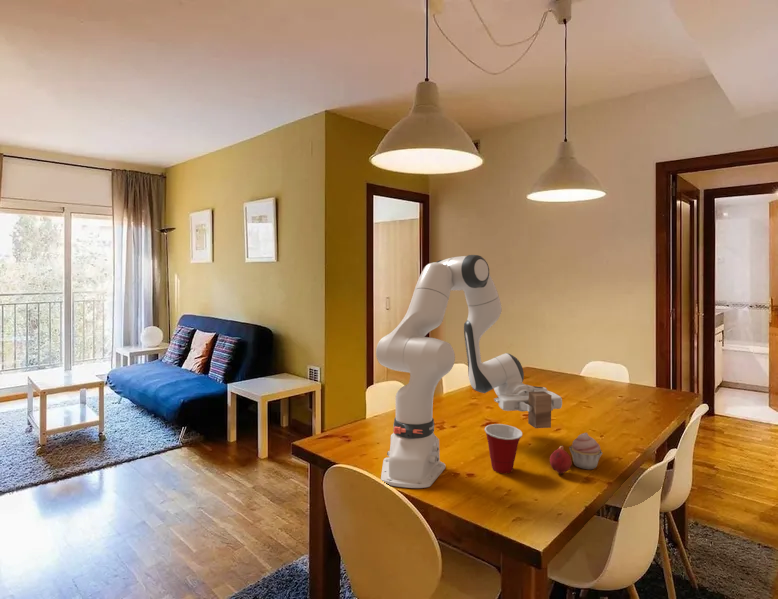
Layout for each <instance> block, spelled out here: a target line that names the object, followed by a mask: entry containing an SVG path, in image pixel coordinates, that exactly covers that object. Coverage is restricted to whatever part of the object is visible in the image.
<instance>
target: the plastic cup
mask: <svg viewBox="0 0 778 599" xmlns="http://www.w3.org/2000/svg"><path fill="white" fill-rule="evenodd" d="M484 432H485V433H486V439H487V445H488V451H489V452H488V453H489V458H490V463H491V469H492V470H493V472H495V471H496V472H495V473H498V472H499V473H498V474H510V473H512V472H513V469H514V464H515V461H516V456H517V451H518V446H519V442H520V440H521V438H522V437H523V432H522V430H521V429H519V428H517V427H516V426H512V425H508V424H503V423H494V424H488V425H486V426H485V427H484Z"/></svg>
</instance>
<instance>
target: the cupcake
mask: <svg viewBox="0 0 778 599" xmlns="http://www.w3.org/2000/svg"><path fill="white" fill-rule="evenodd" d="M568 448H569V451H570V453H571V459H572V461H573V465H574V466H575V467H577V468H580V469H583V470H595V469H596V468H597V466H598V464H599V460H600V458H601V456H602V455H603V452H602V450H601V445H600V444H599V443H598V441H597V440H596V439H594V438H593V437H592V436H590V435H589V434H588V432H584V433H581V434H579V435H578V436H577V438H575V439H574V440H573V441H572V444H571V446H569V447H568ZM594 468H595V469H594Z"/></svg>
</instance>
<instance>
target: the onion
mask: <svg viewBox="0 0 778 599" xmlns="http://www.w3.org/2000/svg"><path fill="white" fill-rule="evenodd" d="M572 461H573V460H572V456H570V454H569V453H568V452H567V451H566V450H565V449H564V446H563V445H560V446H559V447H558V448H557V449H555V450H554V451H553V452H552V453H551V454H550V456H549V464H550V466H551V469H553V470H554V471H555V472H557V473H558V474H559V475H562V474H564V473H565V472H567V471H568V470H570V468H571V467H572Z"/></svg>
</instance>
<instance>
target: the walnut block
mask: <svg viewBox="0 0 778 599" xmlns="http://www.w3.org/2000/svg"><path fill="white" fill-rule="evenodd" d="M551 396H552V395H550V394H548V393H546V392H544V391H542V392H529V405H532V406H533V411H531V412H528V411H527V414H528V420H527V422H528V424H529V425H530V426H532V427H533V428H534V429H548V428H552V411H551Z"/></svg>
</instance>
